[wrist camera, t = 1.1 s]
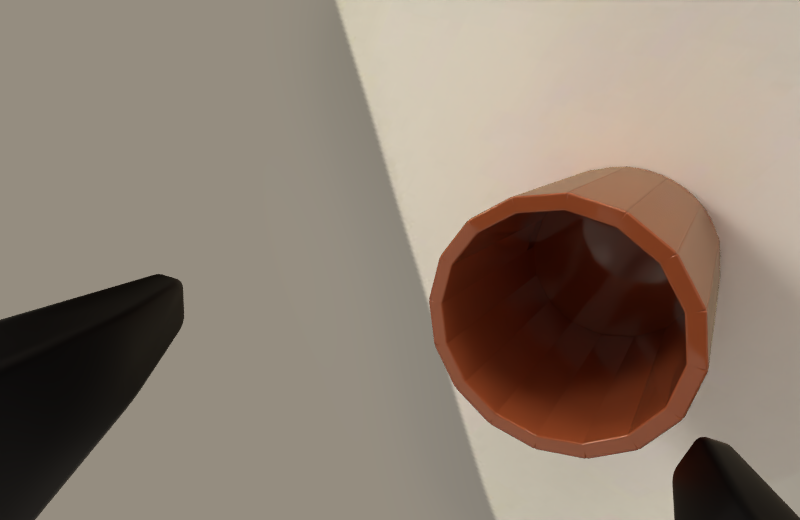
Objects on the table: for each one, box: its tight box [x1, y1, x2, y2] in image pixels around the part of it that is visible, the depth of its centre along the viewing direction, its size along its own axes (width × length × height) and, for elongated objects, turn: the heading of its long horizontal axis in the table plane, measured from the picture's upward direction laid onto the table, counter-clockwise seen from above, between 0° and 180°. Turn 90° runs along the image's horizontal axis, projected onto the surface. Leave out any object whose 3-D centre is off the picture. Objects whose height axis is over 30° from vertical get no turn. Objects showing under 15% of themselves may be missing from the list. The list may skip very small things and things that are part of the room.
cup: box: [429, 166, 721, 459], centre depth 15 cm, size 6×6×8 cm
